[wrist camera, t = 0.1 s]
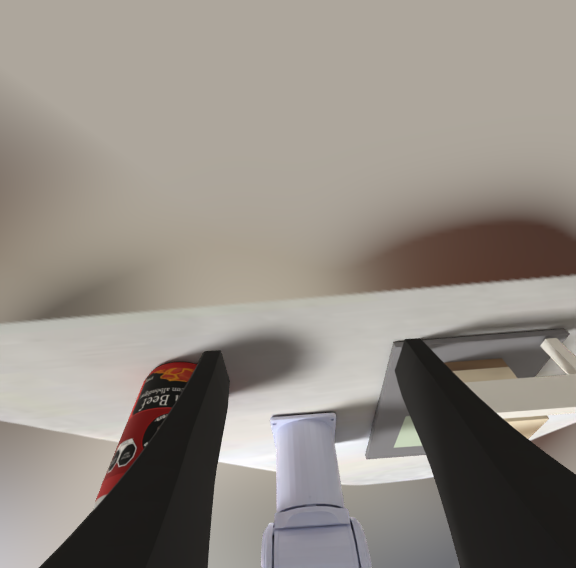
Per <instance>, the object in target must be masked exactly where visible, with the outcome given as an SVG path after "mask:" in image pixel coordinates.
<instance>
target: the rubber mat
mask: <svg viewBox="0 0 576 568" xmlns="http://www.w3.org/2000/svg"><path fill="white" fill-rule="evenodd" d="M569 334H570V333H568V332H567V331H566V330H565V329H556V330H544V331H531V332H518V333H506V334H493V335H480V336H467V337H455V338H442V339H429V340H423V342H424V343H425V344H426V345H427V346H428V347H429V348H430V349H431V350H432V351H433V352H434V353H435V354H436V355H437V356H438V357H439V358H440V359H441V360H442V361H443V362H444V363H447V362H460V361H473V360H486V359H498V358H502V359H503V360H504V361H505V363H506V364H507V365H508V366H509V368H510V369H511V370H512V372H513V373H514V374H515V375H516V377H517V378H529V377H535V376H536V374H537V373H538V372H539V371H540V370H541V368H542V367H543V366H544V365H545V363H546V362H547V361H548V360H549V359H550V356H549V355H548V354H547V353H546V352H545V351H544V350H543V348H542V347H541V346H540V345H541V344H542V343H543V341H544V340H545V339H549V338H557V339H558V340H559V341H560V342H561V343H563V341H564V340H565V339H566V338H567V337H568V335H569ZM403 343H404V342H393V346H392V350H391V354H390V358H389V362H388V366H387V370H386V374H385V378H384V382H383V386H382V390H381V394H380V398H379V402H378V406H377V410H376V414H375V418H374V422H373V426H372V430H371V434H370V438H369V442H368V446H367V450H366V454H365V456H366V459H377V458H390V457H404V456H417V455H426V453H425V451H424V448H423V446H422V444H421V441H420V439H419V436H418V434H417V432H416V429H415V427H414V424H413V422H412V420H411V417H410V415H409V412H408V410H407V408H406V405H405V403H404V400H403V398H402V395H401V392H400V388H399V385H398V381H397V378H396V374H395V368H396V365H397V362H398V359H399V356H400V353H401V349H402V346H403Z"/></svg>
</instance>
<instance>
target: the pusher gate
mask: <svg viewBox="0 0 576 568" xmlns="http://www.w3.org/2000/svg"><path fill="white" fill-rule="evenodd" d="M540 346H541V347H542V348H543V350H544V351H545V352H546V353H547V354H548V355H549V356H550V357H551V358H552V359H553V360H554V361H555V362H556V363H557V364H558V365H559V366H560V367H561V369H562V370H563V371H564V372H565V373H566V374H567V375H555V376H542V377H529V378H516V379H503V380H490V381H477V382H464V383H465V384H466V385H467V386H468V387H469V388H470V389H471V390H472V391H473V392H474V393H475V394H476V395H477V396H478V397H479V398H480V399H482V400H483V401H484V402H485V403H486V404H487V405H488V406H489V407H490V408H491V409H493V410H494V411H495V412H496V413H497V414H498V415H499V416H501V417H502V418H503V419H505V418H518V417H531V416H544V415H557V414H571V413H576V356H575V355H574V354H573V353H572V352H570V351H569V350H568V349H567V348H566V347H565V346H564V345H563V344H562V343H561V342H560V341H559V340H558V339H557V338H549V339H545V340H544V341H543V343H542V344H541V345H540Z"/></svg>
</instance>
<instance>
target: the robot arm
mask: <svg viewBox="0 0 576 568" xmlns="http://www.w3.org/2000/svg"><path fill="white" fill-rule="evenodd" d="M395 374H396V378H397V381H398V385H399V388H400V392H401V395H402V398H403V400H404V403H405V405H406V408H407V410H408V412H409V415H410V417H411V420H412V422H413V424H414V427H415V429H416V432H417V434H418V436H419V439H420V441H421V444H422V446H423V448H424V451H425V453H426V456H427V458H428V461H429V464H430V466H431V469H432V472H433V475H434V479H435V482H436V485H437V488H438V491H439V494H440V497H441V501H442V504H443V507H444V511H445V514H446V517H447V521H448V524H449V528H450V531H451V535H452V539H453V542H454V546H455V550H456V553H457V557H458V561H459V565H460V568H576V474H574V473H573V472H571V471H570V470H569V469H567V468H566V467H564V466H563V465H561V464H560V463H559V462H558V461H556V460H555V459H553V458H552V457H551V456H549V455H548V454H546V453H545V452H544V451H543V450H541V449H540V448H539V447H537V446H536V445H535V444H533V443H532V442H531V441H530V440H528V439H527V438H526V437H525V436H523V435H522V434H521V433H520V432H518V431H517V430H516V429H515V428H514V427H512V426H511V425H510V424H509V423H508V422H506V421H505V420H504V419H503V418H502V417H501V416H499V415H498V414H497V413H496V412H495V411H494V410H493V409H491V408H490V407H489V406H488V405H487V404H486V403H485V402H484V401H483V400H482V399H480V398H479V397H478V396H477V395H476V394H475V393H474V392H473V391H472V390H471V389H470V388H469V387H468V386H467V385H466V384H465V383H464V382H463V381H462V380H461V379H460V378H459V377H458V376H457V375H456V374H455V373H454V372H453V371H452V370H451V369H450V368H449V367H448V366H447V365H446V364H445V363H444V362H443V361H442V360H441V359H440V358H439V357H438V356H437V355H436V354H435V353H434V352H433V351H432V350H431V349H430V348H429V347H428V346H427V345H426V344H425V343H424V342H423V340H421V339H420V338H419V339H405V340H404V343H403V346H402V349H401V353H400V356H399V359H398V362H397V365H396V368H395ZM229 382H230V381H229V377H228V374H227V370H226V367H225V364H224V360H223V357H222V353H221V351H205V352H204V353H203V354H202V356H201V358H200V360H199V362H198V364H197V366H196V368H195V369H194V371H193V373H192V375H191V377H190V379H189V380H188V382H187V384H186V386H185V387H184V389H183V391H182V392H181V394H180V396H179V397H178V399H177V400H176V402H175V404H174V405H173V407H172V409H171V410H170V412H169V413H168V415H167V416H166V418H165V419H164V421H163V422H162V424H161V425H160V427H159V428H158V430H157V431H156V432H155V434H154V435H153V437H152V438H151V440H150V441H149V442H148V444H147V445H146V446H145V448H144V449H143V450H142V452H141V453H140V454H139V456H138V457H137V458H136V460H135V461H134V462H133V464H132V465H131V466H130V467H129V469H128V470H127V471H126V472H125V473H124V475H123V476H122V477H121V478H120V480H119V481H118V482H117V483H116V485H115V486H114V487H113V488H112V489H111V490H110V492H109V493H108V494H107V495H106V496H105V498H104V499H103V500H102V501H101V502H100V503H99V504H98V505H97V507H96V508H95V509H94V510H93V511H92V512H91V513H90V514H89V516H87V518H86V519H85V520H84V521H83V522H82V523H81V524H80V525H79V526H78V528H77V529H76V530H75V531H74V532H73V533H72V534H71V535H70V536H69V537H68V538H67V539H66V541H65V542H64V543H63V544H62V545H61V546H60V547H59V548H58V549H57V550H56V551H55V552H54V553H53V554H52V555H51V556H50V557H49V558H48V559H47V560H46V561H45V562H44V563H43V564H42V565H41V566H40V567H39V568H208V553H209V540H210V528H211V514H212V505H213V494H214V484H215V476H216V469H217V464H218V458H219V453H220V447H221V442H222V436H223V431H224V425H225V420H226V414H227V408H228V397H229ZM270 424H271V428H272V433H273V437H274V442H275V446H276V476H277V477H276V478H277V513H275V524H274V523H269V524H268V526H267V528H266V529H265V531H264V533H263V539H262V553H261V568H372V564H371V559H370V554H369V549H368V544H367V540H366V537H365V533H364V530H363V527H362V526H361V524H360V523H359V522H358V521H357V519H356V518H355V517H349V512H348V508H345V506H344V500H343V494H342V488H341V481H340V475H339V469H338V463H337V457H336V451H335V444H334V441H335V428H336V414H335V413H320V414H307V415H294V416H281V417H272V418H271V419H270Z"/></svg>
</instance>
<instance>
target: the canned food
mask: <svg viewBox="0 0 576 568" xmlns="http://www.w3.org/2000/svg"><path fill="white" fill-rule="evenodd" d="M196 366H197V364H193V363H187V362H174V363H167V364H164V365H161V366H159V367H157V368H155V369H154V370H153V371H152V372H151V373H150V374H149V376H148V377H147V378H146V380H145V381H144V383H143V385H142V388H141V390H140V393H139V395H138V398H137V400H136V402H135V405H134V407H133V410H132V412H131V415H130V417H129V419H128V422H127V424H126V427H125V429H124V432H123V434H122V437H121V439H120V441H119V444H118V446H117V449H116V451H115V454H114V456H113V459H112V461H111V464H110V466H109V468H108V471H107V473H106V476H105V478H104V481H103V483H102V486H101V489H100V491H99V494H98V496H97V498H96V501H95V506H94V508H93V510H94V509H95V508H96V507H97V505H98V504H99V503H100V502H101V501H102V500H103V499H104V498H105V496H106V495H107V494H108V493H109V492H110V490H111V489H112V488H113V487H114V486H115V485H116V483H117V482H118V481H119V480H120V478H121V477H122V476H123V475H124V473H125V472H126V471H127V470H128V469H129V467H130V466H131V465H132V464H133V462H134V461H135V460H136V458H137V457H138V456H139V454H140V453H141V452H142V450H143V449H144V448H145V446H146V445H147V444H148V442H149V441H150V440H151V438H152V437H153V435H154V434H155V432H156V431H157V430H158V428H159V427H160V425H161V424H162V422H163V421H164V419H165V418H166V416H167V415H168V413H169V412H170V410H171V409H172V407H173V405H174V404H175V402H176V400H177V399H178V397H179V396H180V394H181V392H182V391H183V389H184V387H185V386H186V384H187V382H188V380H189V379H190V377H191V375H192V373H193V371H194V369H195V368H196Z"/></svg>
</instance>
